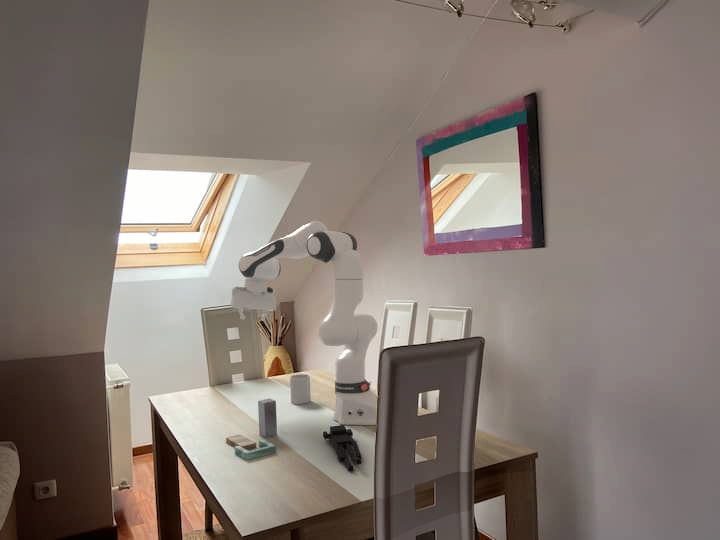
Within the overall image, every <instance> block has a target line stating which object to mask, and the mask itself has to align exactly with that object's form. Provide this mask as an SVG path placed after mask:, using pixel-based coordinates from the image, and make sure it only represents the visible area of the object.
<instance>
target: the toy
mask: <svg viewBox="0 0 720 540" xmlns="http://www.w3.org/2000/svg"><path fill="white" fill-rule="evenodd" d="M322 437H323V439H324V440H328V442H329V444H330V445H331V447H332V448H333V449H332V450H333V451H334V453H335V455H336V457H337V459H338V462H339V463H343V464H344V465H345V468H346V469H347V470H348V471H349V472H353V471H354V465H353V464H352V463H354V464H355V465H362V455H361V451H360V448H359V445H358V442H357V441H356V439H355V438H354V433H353V431H352V429H351V428H346V426H345V424H339V425H333V426H329V433H328V431H327V430H326V431H322ZM346 451H347V453H348V454H347V453H346ZM347 455H348V456H347ZM348 457H349V458H348ZM349 459H350V460H349Z"/></svg>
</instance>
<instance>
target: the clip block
mask: <svg viewBox="0 0 720 540" xmlns="http://www.w3.org/2000/svg"><path fill="white" fill-rule="evenodd" d="M257 407H258V409H257V410H258V411H257V412H258V413H257V414H258V431H259V432H258V434H259V436H260V435H261V437H262V436H263V438H264V439H267V437H268V438H270V437H271V436H272V437H273V436H274V437H275V436H278V425H277V424H278V423H277V422H278V421H277V419H278V418H277V401H276V400H275V399H272V398H270V397H269V398H264V399H260V400H257Z"/></svg>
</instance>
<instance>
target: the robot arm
mask: <svg viewBox="0 0 720 540" xmlns="http://www.w3.org/2000/svg"><path fill="white" fill-rule="evenodd" d="M357 250H358V242H357V239H356V237H355V236H354V235H352V234H351V233H349V232H346V231H334V230H328V228H327V226H326V225H325V224H324V223H323V222H321V221H317V220H313V221H311V222H309V223H306V224H305V225H302V226H301V227H300V228H298V229H296V230H295V231H293V232H292V233H290V234H288V235H286V236H284V237H282V238H278V239H276V240H273V241H271V242H269V243H268V244H266V245H264V246H262V247H260V248H258V249H257V250H255V251H251V252H247V253H245V254H244V255H243V256H241V258H240V259H239V261H238V269H239V271H240V273H241V275H242V276H243V277H244V286H239V285H238V286H235V287H233V288H232V289H231V295H232V296H231V300H230V307H231V308H233V309H238V310H237V311H238V313H239V316H240V317H239V318H240V320H246V314H244V313H243V312H244V310H254V311H262V313H263V314H262V316H260V317H259V321H260V322H262V321H263V322H264V321H266V316H267V315H268V312H274V311H275V310H276V309H277V308H276V306H277V304H276V303H277V301H276V300H277V297H276V295H275V293H276V289H275V288H273V287H271V286H268V285H267V284H266V280H267V281H268V280H269V281H271V280H272V281H273V280H276V279H277V278H278V277H279V276H280V274H281V272H282V271H281V269H282V267H281V263H280V261H279V259H294V260H300V259H304V258H307V257H309V256H311V258H314V259H315V260H318V261H320V262H323V263H325V264H327V263H329V262H330V263H331V264H332V267H333V297H332V304H331V306H330V310H329V312H328V313H327V315H326V316H325V318H324V319H323V320H322V321H321V322H320V324H319V327H318V333H317V334H318V337H319V339H320V341H321V344H323V345H325V346H328V347H341V346H343V349H342V351H341V353H340V354H339V355H338V356H337V358H336V360H335V365H334V366H335V381H334V394H335V405H334V412H333V416H332V419H333V420H334V421H336V422H337V423H338V424H339V425H344V426H345V425H349V426H350V425H351V426H352V425H354V426H377V425H376V405H377V396H378V395H377V393H375V392H373V390H371V385H372V381H367V380H366V355H367V353H368V348H369V346H370V343H371V341H372V340H373V339H374V337H376V334H377V332H378V323H377V320H376V319H375V317H374V316H373V315H371V314H367V313H355V311H356V309H357V307H358V306H359V304H361V302H362V301H363V299H364V270H363V269H364V268H363V262H362V257H361V254H360V253H359V251H357ZM374 424H375V425H374Z"/></svg>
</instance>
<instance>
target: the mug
mask: <svg viewBox="0 0 720 540" xmlns="http://www.w3.org/2000/svg"><path fill="white" fill-rule="evenodd" d="M289 381H290V382H289V385H290V388H289V389H290V403H291V404H292V403H293V405H304V404H303V403H306V404H309V403H311V401H312V399H311V398H312V396H311V377H310V375H309V374H303V373H301V374H293V375H291V376H290V377H289ZM308 402H309V403H308Z"/></svg>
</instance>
